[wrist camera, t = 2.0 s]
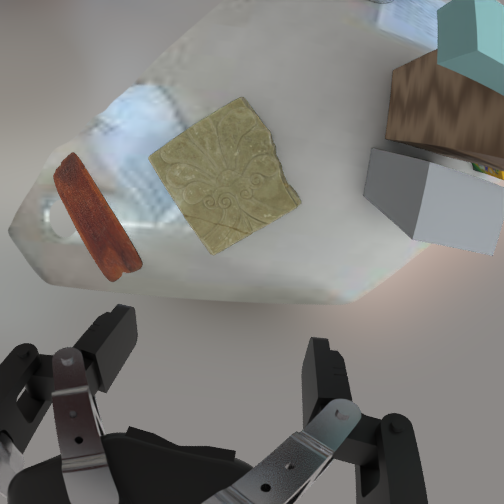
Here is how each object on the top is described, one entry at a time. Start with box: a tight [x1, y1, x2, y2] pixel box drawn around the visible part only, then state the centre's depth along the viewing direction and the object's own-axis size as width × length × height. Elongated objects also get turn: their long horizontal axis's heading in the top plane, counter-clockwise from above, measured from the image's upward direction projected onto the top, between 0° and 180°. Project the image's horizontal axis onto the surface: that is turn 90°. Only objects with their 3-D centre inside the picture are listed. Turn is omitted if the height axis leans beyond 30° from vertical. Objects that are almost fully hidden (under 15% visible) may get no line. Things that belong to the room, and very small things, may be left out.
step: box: [363, 148, 504, 256], centre depth 36 cm, size 8×12×21 cm, turn 83°
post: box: [385, 49, 504, 172], centre depth 26 cm, size 12×12×32 cm
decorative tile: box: [148, 97, 301, 255], centre depth 47 cm, size 19×20×4 cm
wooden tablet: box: [53, 153, 142, 282], centre depth 53 cm, size 27×10×2 cm, turn 28°
